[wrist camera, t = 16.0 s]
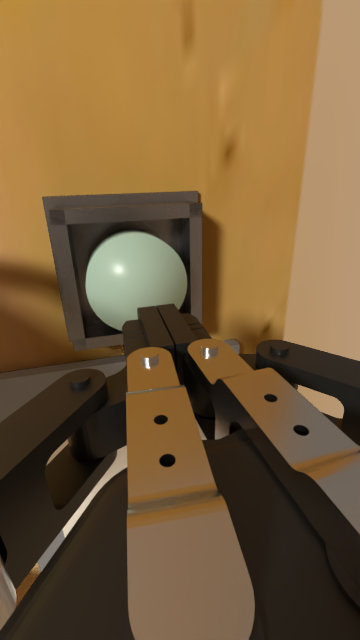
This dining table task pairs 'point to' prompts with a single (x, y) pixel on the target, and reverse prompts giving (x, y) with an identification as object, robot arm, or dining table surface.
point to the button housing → (99, 223)
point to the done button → (133, 276)
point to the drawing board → (20, 387)
